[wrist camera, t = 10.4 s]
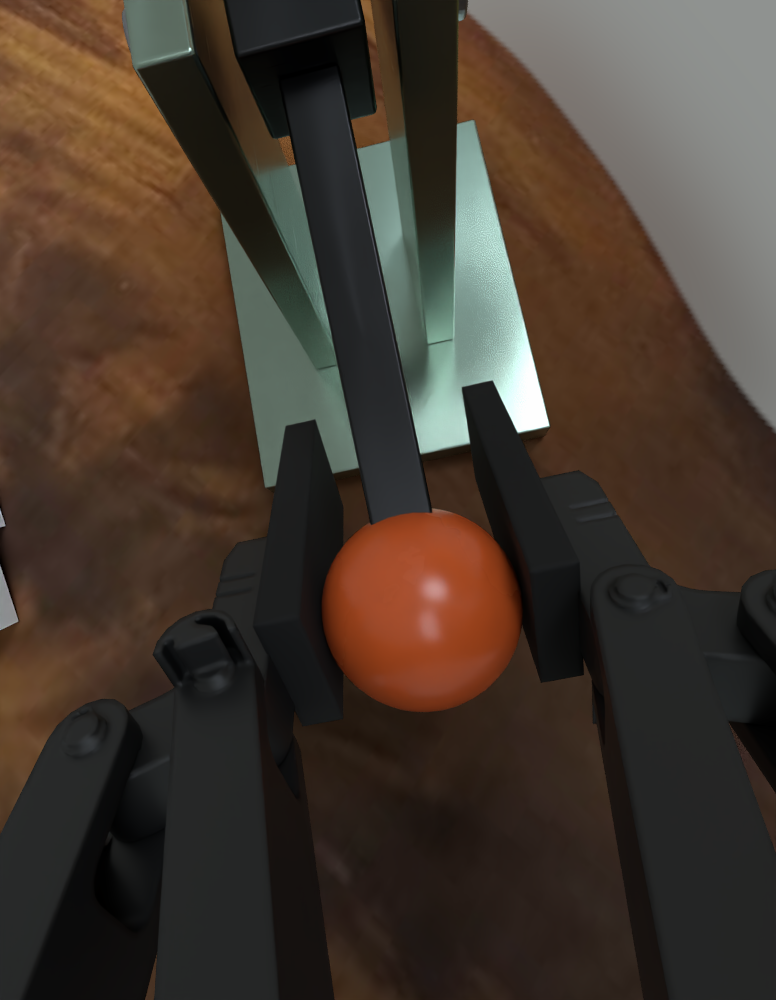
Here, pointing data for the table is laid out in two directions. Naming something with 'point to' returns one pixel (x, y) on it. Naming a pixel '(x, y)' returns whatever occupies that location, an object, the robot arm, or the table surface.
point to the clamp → (395, 217)
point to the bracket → (5, 598)
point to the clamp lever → (374, 389)
